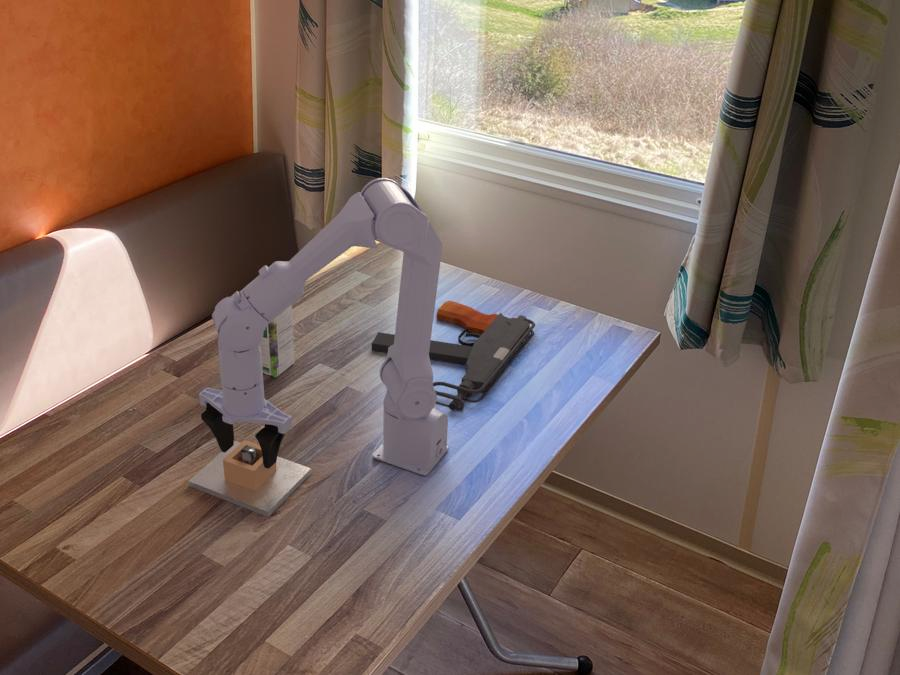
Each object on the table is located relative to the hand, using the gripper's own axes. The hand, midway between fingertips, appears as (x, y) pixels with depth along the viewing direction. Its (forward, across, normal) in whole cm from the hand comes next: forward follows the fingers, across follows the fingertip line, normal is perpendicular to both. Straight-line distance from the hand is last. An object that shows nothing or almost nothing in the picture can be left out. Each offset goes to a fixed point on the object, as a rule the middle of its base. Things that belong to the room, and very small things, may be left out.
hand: (248, 456), depth 142 cm
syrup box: (+5, -15, +27) cm, 31 cm away
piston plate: (+4, 0, 0) cm, 4 cm away
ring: (+3, 0, 0) cm, 3 cm away
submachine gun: (+5, +9, +46) cm, 47 cm away
